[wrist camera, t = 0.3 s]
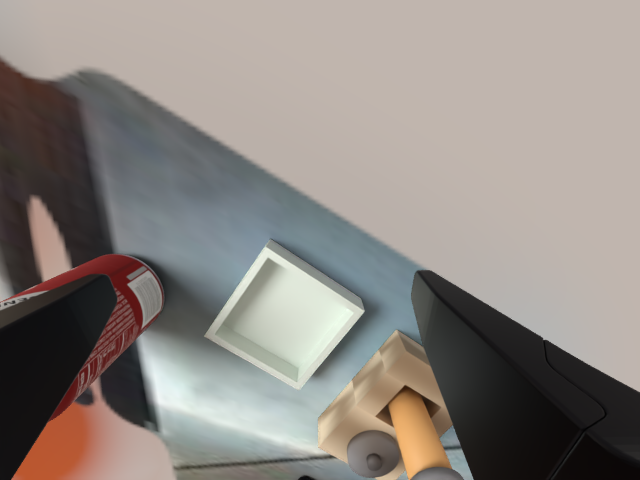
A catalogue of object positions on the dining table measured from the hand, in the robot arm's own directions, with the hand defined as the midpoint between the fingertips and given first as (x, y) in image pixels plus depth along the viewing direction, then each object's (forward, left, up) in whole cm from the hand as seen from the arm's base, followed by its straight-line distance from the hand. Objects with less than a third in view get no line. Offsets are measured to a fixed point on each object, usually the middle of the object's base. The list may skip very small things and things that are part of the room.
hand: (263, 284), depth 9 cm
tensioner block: (-10, -17, -15) cm, 25 cm away
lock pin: (-9, -17, -15) cm, 24 cm away
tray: (-8, -4, -15) cm, 18 cm away
